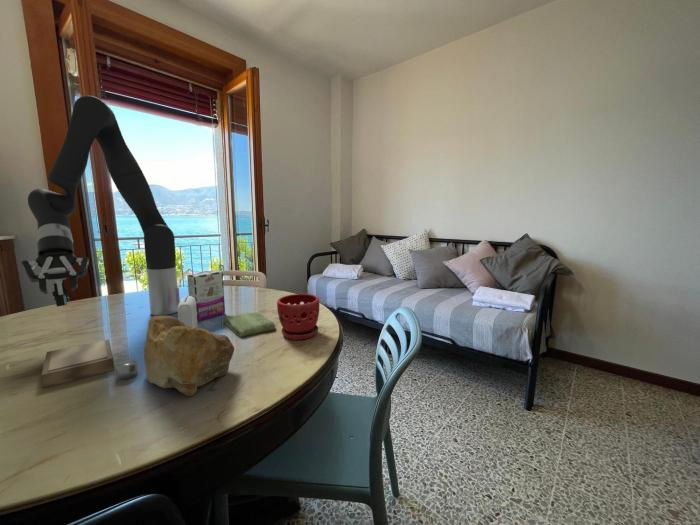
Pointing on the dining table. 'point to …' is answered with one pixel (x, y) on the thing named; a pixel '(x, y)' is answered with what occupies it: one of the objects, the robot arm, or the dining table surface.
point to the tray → (77, 362)
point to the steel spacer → (126, 369)
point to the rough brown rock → (184, 355)
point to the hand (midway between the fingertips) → (59, 290)
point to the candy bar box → (207, 293)
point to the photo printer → (188, 311)
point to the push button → (58, 284)
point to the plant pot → (298, 315)
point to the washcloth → (249, 323)
